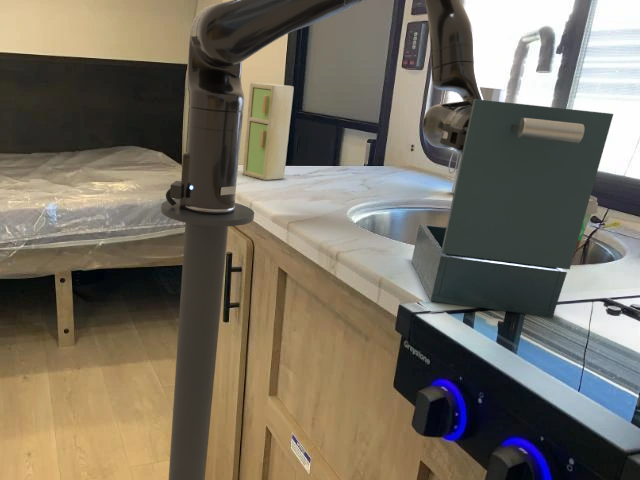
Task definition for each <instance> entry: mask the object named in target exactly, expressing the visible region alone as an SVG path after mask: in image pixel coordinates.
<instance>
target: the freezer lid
mask: <svg viewBox="0 0 640 480" xmlns="http://www.w3.org/2000/svg"><path fill="white" fill-rule="evenodd" d="M613 117H614V113H609V112H599V111H591V110H590V111H589V110H581V109H572V108H562V107H555V106H554V107H552V106H544V105H534V104H526V103H515V102H508V101H507V102H506V101H504V102H498V101H489V100H479V99H474V101H473V105H472V110H471V115H470V119H469V124H468V129H467V133H466V138H465V143H464V147H463V152H462V157H461V162H460V166H459V171H458V176H457V180H456V185H455V190H454V194H453V193H452V194H453V195H452V200H451V203H450V204H451V205H450V209H449V214H448V219H447V222H446V226H445V227H446V232H445V237H444V241H443V246H442V251H441V252H442V253H445V254H452V255H460V256H468V257H476V258H484V259H492V260H499V261H507V262H515V263H523V264H531V265H538V266H546V267H554V268H562V269H563V270H571V266H572V262H573V259H574V257H575V255H574V252H575V249H576V245H577V242H578V238H579V235H580V231H581V228H582V224H583V220H584V217H585V213H586V210H587V206H588V203H589V199H590V196H592V192H593V188H594V186H595V185H594V184H595V181H596V178H597V174H598V170H599V167H600V164H601V160H602V156H603V153H604V149H605V146H606V142H607V138H608V136H609V132H610V128H611V124H612V121H613ZM573 256H574V257H573Z"/></svg>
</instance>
